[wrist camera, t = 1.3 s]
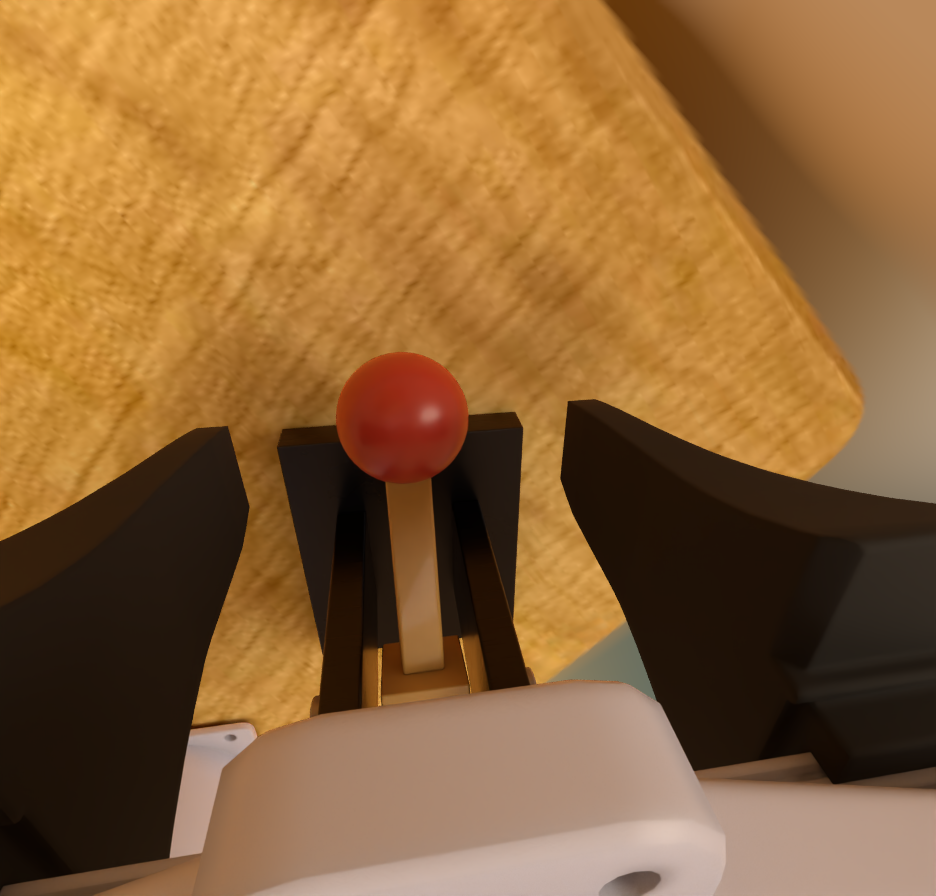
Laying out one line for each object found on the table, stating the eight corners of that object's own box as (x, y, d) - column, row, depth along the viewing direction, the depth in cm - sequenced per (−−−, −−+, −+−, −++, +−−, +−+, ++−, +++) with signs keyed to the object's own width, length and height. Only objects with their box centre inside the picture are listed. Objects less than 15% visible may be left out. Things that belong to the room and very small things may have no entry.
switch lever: (336, 355, 14) (320, 357, 11) (456, 348, 15) (474, 348, 11) (374, 722, 16) (369, 811, 13) (478, 707, 17) (498, 790, 14)
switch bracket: (282, 428, 18) (209, 664, 10) (515, 411, 19) (616, 613, 11) (324, 632, 23) (299, 895, 15) (506, 610, 24) (571, 845, 16)
